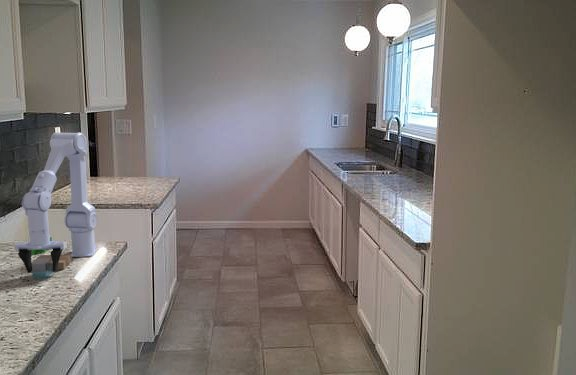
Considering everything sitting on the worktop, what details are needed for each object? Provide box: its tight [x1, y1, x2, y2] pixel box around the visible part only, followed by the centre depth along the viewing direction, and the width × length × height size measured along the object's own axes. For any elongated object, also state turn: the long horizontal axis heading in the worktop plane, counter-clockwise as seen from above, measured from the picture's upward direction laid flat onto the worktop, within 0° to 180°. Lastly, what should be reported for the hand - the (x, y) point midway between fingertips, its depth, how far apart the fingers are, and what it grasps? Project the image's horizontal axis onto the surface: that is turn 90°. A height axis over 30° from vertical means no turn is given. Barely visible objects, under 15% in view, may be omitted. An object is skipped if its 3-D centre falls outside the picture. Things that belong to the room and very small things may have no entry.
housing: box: [31, 257, 54, 280], centre depth 167 cm, size 6×4×5 cm, turn 7°
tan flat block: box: [32, 253, 72, 271], centre depth 176 cm, size 9×10×2 cm
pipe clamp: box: [31, 236, 53, 256], centre depth 193 cm, size 11×4×5 cm, turn 173°
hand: (42, 271), depth 167 cm, fingers open, 7 cm apart
